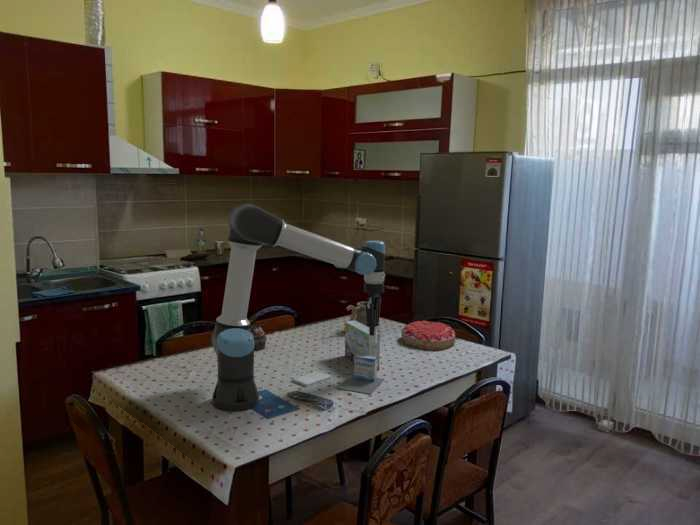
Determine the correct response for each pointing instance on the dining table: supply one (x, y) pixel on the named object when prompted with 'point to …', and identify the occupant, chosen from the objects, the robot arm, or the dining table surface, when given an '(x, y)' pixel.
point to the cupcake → (258, 337)
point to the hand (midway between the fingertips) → (372, 342)
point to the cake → (428, 335)
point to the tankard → (359, 313)
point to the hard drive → (311, 379)
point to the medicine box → (365, 368)
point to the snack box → (360, 341)
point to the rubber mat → (359, 385)
